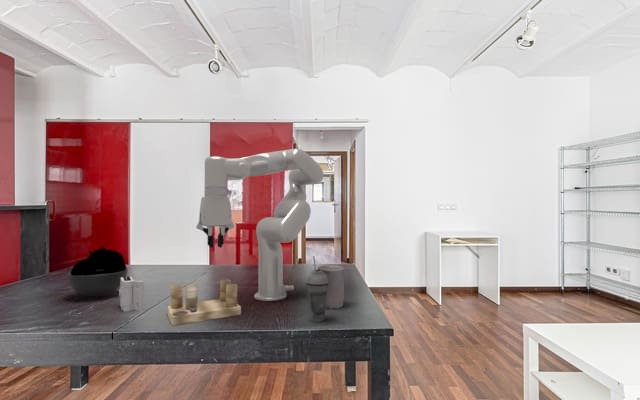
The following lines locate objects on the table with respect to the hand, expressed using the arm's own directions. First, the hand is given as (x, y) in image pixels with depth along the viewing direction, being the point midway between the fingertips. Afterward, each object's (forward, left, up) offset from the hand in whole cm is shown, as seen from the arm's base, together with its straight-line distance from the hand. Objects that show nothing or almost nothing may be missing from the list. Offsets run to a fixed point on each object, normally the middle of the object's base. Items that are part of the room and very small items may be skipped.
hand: (215, 246), depth 112 cm
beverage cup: (-26, +24, -22) cm, 42 cm away
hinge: (+25, -20, -22) cm, 39 cm away
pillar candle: (-38, +13, -22) cm, 46 cm away
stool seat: (+4, 0, -22) cm, 22 cm away
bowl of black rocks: (+36, -44, -22) cm, 61 cm away
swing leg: (+7, +2, -19) cm, 21 cm away
